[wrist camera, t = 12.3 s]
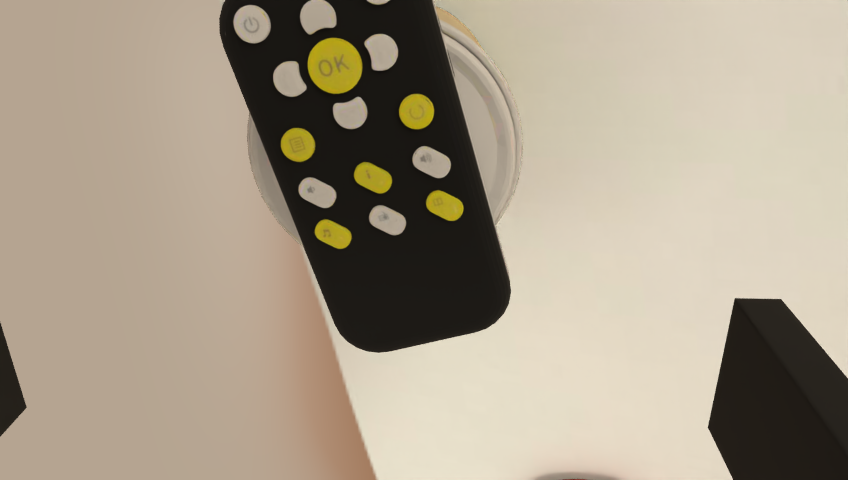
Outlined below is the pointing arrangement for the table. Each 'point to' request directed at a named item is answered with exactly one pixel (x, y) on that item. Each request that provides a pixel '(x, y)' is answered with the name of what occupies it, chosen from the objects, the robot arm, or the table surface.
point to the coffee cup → (485, 115)
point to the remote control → (373, 163)
